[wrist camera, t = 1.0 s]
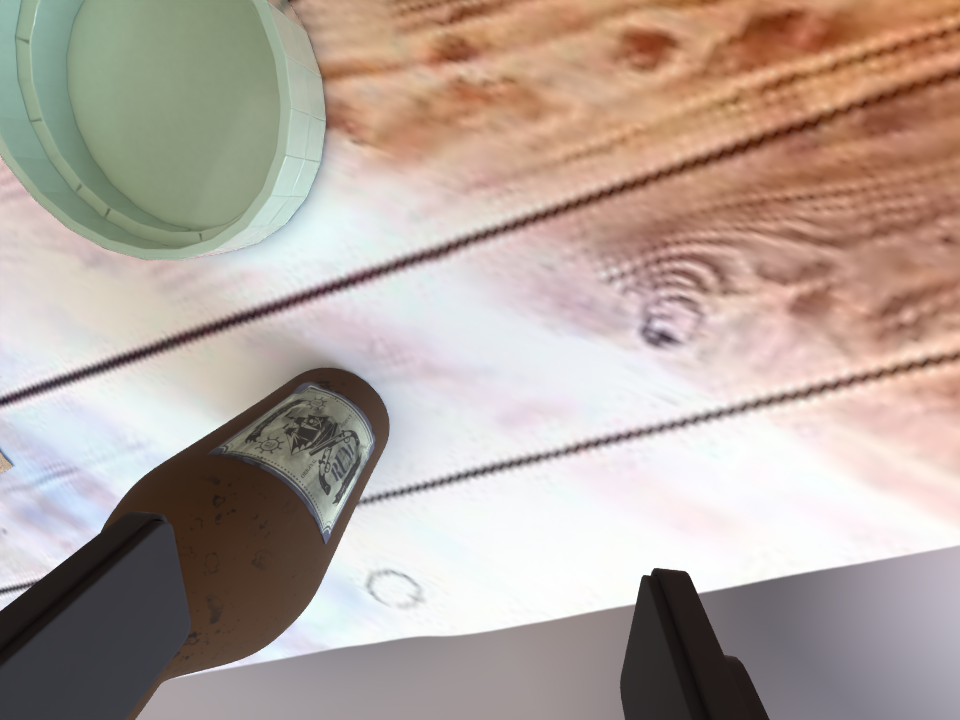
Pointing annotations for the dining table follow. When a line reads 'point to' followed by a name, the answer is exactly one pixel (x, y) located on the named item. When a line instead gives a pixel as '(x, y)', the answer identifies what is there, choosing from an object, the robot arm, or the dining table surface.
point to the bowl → (161, 119)
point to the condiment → (4, 464)
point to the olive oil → (262, 511)
